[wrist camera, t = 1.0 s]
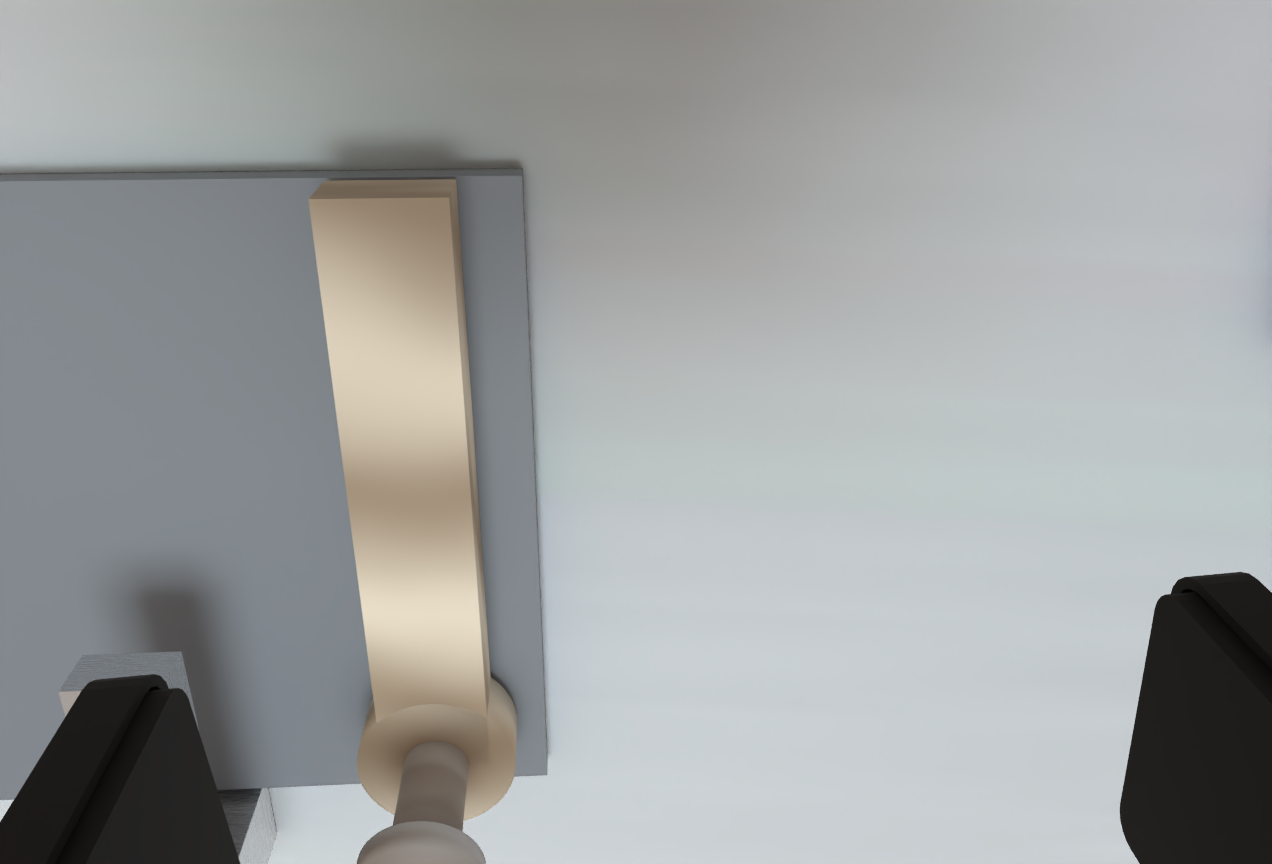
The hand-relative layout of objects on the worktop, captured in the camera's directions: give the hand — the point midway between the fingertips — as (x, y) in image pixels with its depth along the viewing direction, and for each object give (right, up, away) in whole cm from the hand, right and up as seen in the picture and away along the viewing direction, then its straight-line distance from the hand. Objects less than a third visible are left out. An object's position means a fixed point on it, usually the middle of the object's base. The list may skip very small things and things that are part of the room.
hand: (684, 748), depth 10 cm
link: (-6, +1, +19) cm, 20 cm away
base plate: (-13, +1, +19) cm, 23 cm away
